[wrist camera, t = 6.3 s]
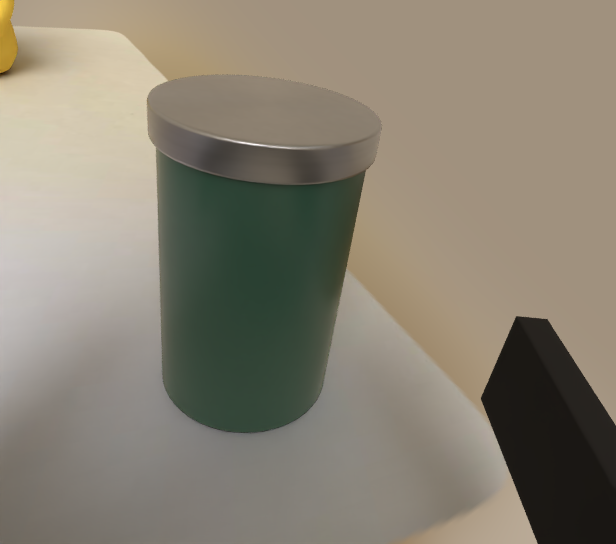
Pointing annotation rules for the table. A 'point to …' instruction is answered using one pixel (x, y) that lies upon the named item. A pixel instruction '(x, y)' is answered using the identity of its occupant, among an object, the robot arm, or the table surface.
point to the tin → (253, 240)
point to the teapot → (7, 36)
